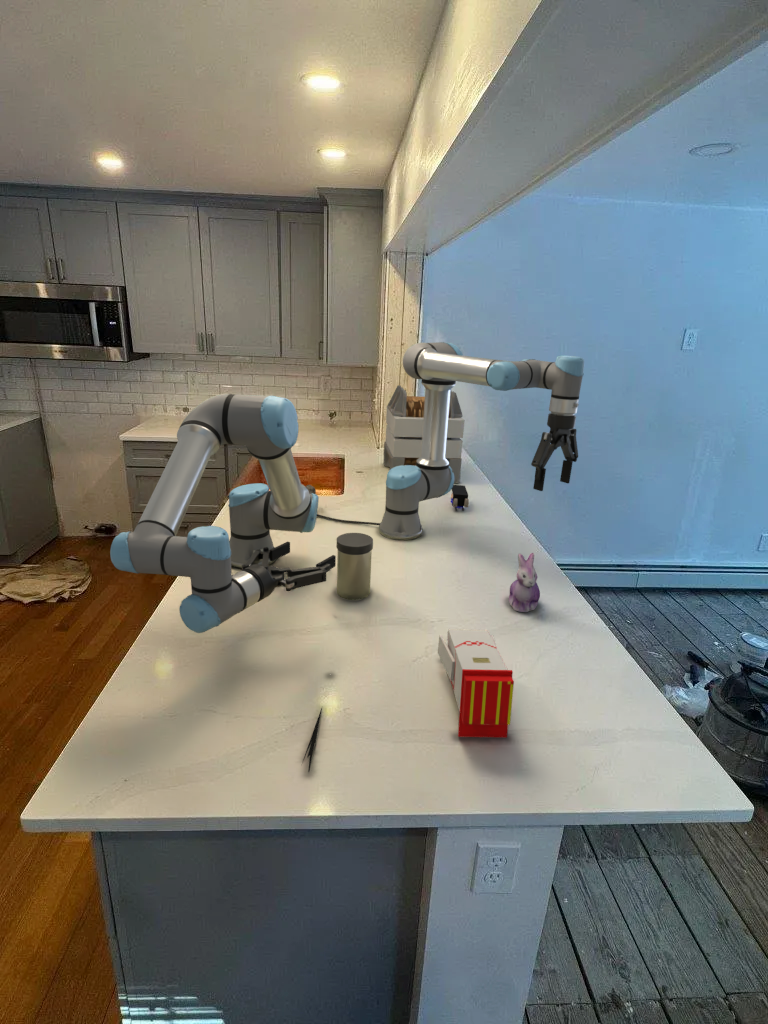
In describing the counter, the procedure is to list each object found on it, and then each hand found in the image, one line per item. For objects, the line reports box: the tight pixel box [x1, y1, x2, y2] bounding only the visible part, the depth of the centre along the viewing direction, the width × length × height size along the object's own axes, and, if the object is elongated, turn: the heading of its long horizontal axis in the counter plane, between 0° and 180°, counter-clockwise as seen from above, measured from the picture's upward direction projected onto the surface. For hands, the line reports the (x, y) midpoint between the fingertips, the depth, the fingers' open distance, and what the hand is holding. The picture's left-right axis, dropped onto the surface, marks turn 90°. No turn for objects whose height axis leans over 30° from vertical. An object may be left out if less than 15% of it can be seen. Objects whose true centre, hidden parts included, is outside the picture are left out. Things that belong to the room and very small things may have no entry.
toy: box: [437, 628, 515, 738], centre depth 117 cm, size 12×13×30 cm
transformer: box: [383, 384, 465, 484], centre depth 268 cm, size 34×33×41 cm
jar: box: [336, 548, 373, 601], centre depth 155 cm, size 9×9×16 cm
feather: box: [301, 673, 332, 771], centre depth 108 cm, size 2×28×2 cm
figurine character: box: [449, 484, 470, 512], centre depth 229 cm, size 7×8×15 cm
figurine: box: [508, 552, 541, 613], centre depth 152 cm, size 9×10×15 cm
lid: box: [335, 532, 374, 554], centre depth 153 cm, size 10×10×2 cm
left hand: (311, 553), depth 136 cm, fingers open, 13 cm apart
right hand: (551, 486), depth 166 cm, fingers open, 13 cm apart
